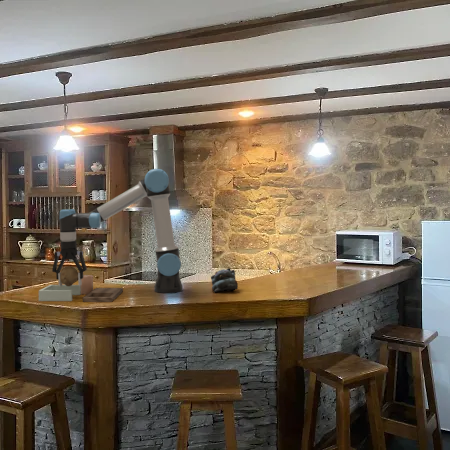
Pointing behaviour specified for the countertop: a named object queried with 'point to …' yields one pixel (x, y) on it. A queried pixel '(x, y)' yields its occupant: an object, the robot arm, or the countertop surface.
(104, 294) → the brown wooden tray
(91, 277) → the brown rounded block
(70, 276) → the natural sponge
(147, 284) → the countertop surface
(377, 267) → the countertop surface
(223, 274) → the grey animal figurine
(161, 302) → the countertop surface
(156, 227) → the robot arm
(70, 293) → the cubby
